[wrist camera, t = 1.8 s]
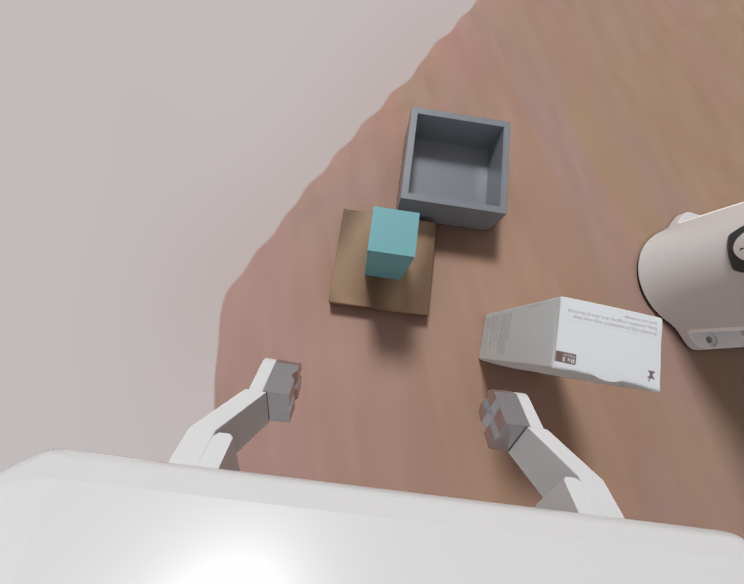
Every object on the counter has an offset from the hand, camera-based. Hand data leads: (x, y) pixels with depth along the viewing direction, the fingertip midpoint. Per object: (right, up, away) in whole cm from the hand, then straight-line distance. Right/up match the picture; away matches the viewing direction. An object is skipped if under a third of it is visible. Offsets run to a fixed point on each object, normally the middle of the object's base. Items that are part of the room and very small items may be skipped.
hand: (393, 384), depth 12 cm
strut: (+1, +8, +23) cm, 24 cm away
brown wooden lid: (+1, +8, +25) cm, 26 cm away
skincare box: (+16, -3, +24) cm, 29 cm away
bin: (+9, +19, +27) cm, 35 cm away
